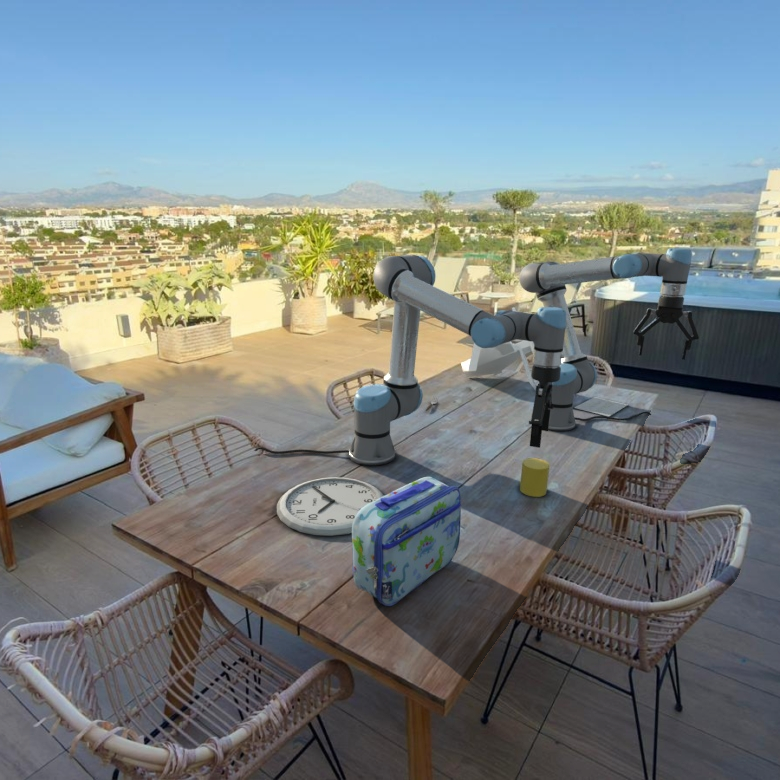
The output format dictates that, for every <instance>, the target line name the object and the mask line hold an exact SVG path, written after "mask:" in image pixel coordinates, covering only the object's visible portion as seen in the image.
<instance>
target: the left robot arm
mask: <svg viewBox="0 0 780 780" xmlns="http://www.w3.org/2000/svg"><path fill="white" fill-rule="evenodd" d="M372 276H373V277H372V280H373V284H374V286H375V288H376V290H377V291H378V292H379V293H380V294H381V295H383V296H384V297H387V299H390V300H391V301H392V302H393V303H394V305H393V316H392V328H391V330H392V331H391V342H390V354H389V363H388V372H387V373H386V374H385V375H384V376H383V384H379V383H374V384H368V385H363V386H362V387H360V388H358V389H357V390H356V391H355V393H354V401H353V415H354V417H353V419H354V420H353V421H354V435H353V438H352V441H351V443H350V447H349V449H344V450H343V449H341V450H315V449H304V448H303V449H302V448H301V449H292V450H291V449H289V450H280V451H279V450H278V451H276V450H271V449H269V448H266V447H264V446H258V447H256V448H254V450H253V452H258V451H259V450H263V451H265V452H267V453H269V454H275V455H276V454H277V455H280V454H281V455H282V454H284V455H285V454H291V453H312V454H313V453H314V454H322V455H323V454H324V455H325V454H326V455H327V454H330V455H331V454H344V453H348V457H349V459H350V461H351V462H352V463H353V462H354V463H355V464H358V465H361V466H368V467H369V466H370V467H371V466H372V467H373V466H383V465H386V464H390V463H391V462H392V461H393V460H395V458H396V448H395V445H394V443H393V440H392V437H391V422H393V421H395V420H398V419H400V418H403V417H406V416H409V415H411V414H413V413H414V412H416V411H417V410H419V408H420V406H421V405H422V404H423V398H424V395H423V389H421V386H420V384H419V379H418V378H417V376H415V369H416V360H417V350H418V349H417V348H418V340H419V330H420V329H419V328H420V319H421V312H423V313H424V314H427V315H428V316H431V317H433V318H435V319H436V320H439V321H440V322H442V323H444V324H446V325H448V326H449V327H452V328H453V329H456V330H458V331H460V332H462V333H463V334H466V335H468V336H470V337H471V340H472V341H473V344H474V343H475V344H476V345H477V346H479V347H481V348H493V347H496V346H498V345H501V344H504V343H507V342H510V341H511V342H512V341H516V340H519V341H522V340H526V341H533V343H534V351H533V353H532V364H533V365H532V366H531V377H532V378H533V380H534V381H537V382H538V383H537V385H535V393H534V394H535V396H534V400H533V407H532V414H531V420H529V421H528V424H529V425H531V429H530V437H529V438H530V439H529V447H533V448H538V449H540V448H541V442H542V436H543V435H542V434H543V432H548V431H549V430H548V427H549V418H550V409H553V405H551V404H552V389H553V385H552V384H553V382H556V381H559V379H560V373H561V368H560V365H561V362H562V358H564V357H565V356H564V355H562V353H563V344H564V337H565V329H566V311H565V310H564V309H562V308H557V307H544V306H541V307H539V308H538V309H537V311H536V313H530V312H523V311H517V310H516V311H517V312H516V311H512V309H511V310H510V309H509V310H498V311H497V312H496V314H495V315H494V314H492V313H490V312H488V311H485V310H484V309H481V308H480V307H478V306H476V305H474V304H471V303H469V302H466V301H465V300H463V299H461V298H459V297H456V296H454V295H452V294H450V293H449V292H447V291H444V290H442V289H440V288H438V287H436V286H434V285H435V284H436V283H435V282H436V278H437V277H436V269H435V267H434V264H432V262H431V261H430V260H429V259H428V258H427V257H425V256H423V255H418V254H406V255H405V254H404V255H389V256H387V257H384V258H382V259H381V260H379V262H378V263H377V264H376V265H375V268H374V270H373V275H372ZM537 420H539V421H537Z"/></svg>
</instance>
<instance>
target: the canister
mask: <svg viewBox="0 0 780 780" xmlns="http://www.w3.org/2000/svg"><path fill="white" fill-rule="evenodd" d="M549 473H550V463H549V462H548V461H546V460H544V459H541V458H536V457H529V458H524V459H523V460H522V463H521V474H520V484H519V491H520V492H521V493H522V494H524V495H525V496H529V497H534V498H540V497H544V496H545V495H547V490H548V481H549V475H550V474H549Z"/></svg>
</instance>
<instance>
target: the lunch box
mask: <svg viewBox="0 0 780 780" xmlns="http://www.w3.org/2000/svg"><path fill="white" fill-rule="evenodd" d="M461 499H462V497H461V491H460V489H459V488H458V487H457V486H455V485H450V486H449V485H447V484H445V483H444V482H442V481H440V480H438V479H436V478H434V477H432V476H424V477H421V478H419V479H416V480H414V481H412V482H410V483H407V484H405V485H404V486H401V487H399V488H397V489H395V490H392V491H391V492H390V493H386V494H384V496H383V497H381V498H379V499H377V500H375V501H373V502H371V503H369V504H367V505H365V506H364V507H362V508H361V509H360V510H359V512H358V513H357V515H356V516H355V518H354V521H353V526H352V533H351V550H352V576H353V581H354V584H355V587H356V588H358V589H360V590H362V591H364V592H366V593H368V594H370V596H372V597H374V598H375V599H377V601H378V603H379V604H382V605H383V606H385V607H393V606H394V605H396V604H397V603H399V602H400V601H402V599H404V598H405V597H406V596H407V595H409V594H410V593H411V592H413V591H414V590H415V589H416V588H418V587H419V586H420V585H422V584H423V583H424V582H425V581H427V580H428V579H429V578H430V577H432V575H434V574H435V573H437V572H439V571H441V570H442V569H443V568H445V567H446V566H448V565H449V564H450V562H452V560H453V559H454V557H455V555H456V553H457V551H458V549H459V544H460V537H461V519H462V515H461V513H462V512H461V510H462V507H461V505H462V504H461V503H462V502H461Z"/></svg>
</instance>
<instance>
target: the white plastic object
mask: <svg viewBox="0 0 780 780" xmlns="http://www.w3.org/2000/svg"><path fill="white" fill-rule="evenodd" d="M511 310H512V311H516V312H518V311H517V309H516V307H515V306H513V307H511ZM533 351H534V341H526V340H520V341H519V342H516V343H513V342H512V341H510V342H507V343H504V344H501V345H498V346H496V347H493V348H481V347H479V346H477V345H476V344H475V343H474V342H473V346H472V351H471V356H470V358H468V359H467V360H465V361H462V362H461V363H460V364H461V371H462V372H463V374H464V376H465V377H466V378H470V377H471V378H472V377H481V376H489V375H493V376H497V375H500V374H502V373H503V371H504V370H505V369H507V367H509V366H510V365H512V364H513V363H515V362H516V361H517V360H519V359H520V358H521V361H522V364H523V367H524V370H525V373H526V377H527V379H528V382H529V384H530V386H531V387H532V389H534V391H536V384H535V380H534V379H533V378H532V377H531V374H532V370H531V368H530V365H529V362H528V358H527V354H529V353H532V354H533Z"/></svg>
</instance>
